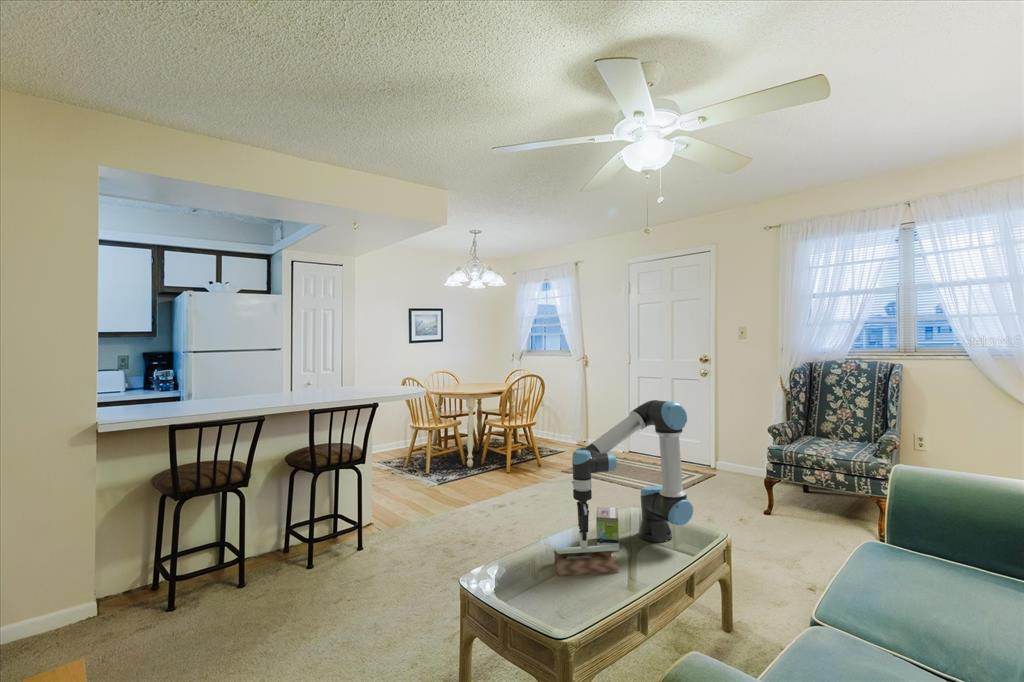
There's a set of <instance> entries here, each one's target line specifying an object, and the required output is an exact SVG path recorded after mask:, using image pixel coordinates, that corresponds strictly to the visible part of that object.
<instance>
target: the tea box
mask: <svg viewBox="0 0 1024 682" xmlns="http://www.w3.org/2000/svg"><path fill="white" fill-rule="evenodd" d="M596 508H597V509H596V518H595V520H596V521H595V522H596V524H595V526H596V546H600V545H611V546H613V547H615V548H616V549H617V550H615V551H614V552H619V551H620V527H619V526H620V524H619V523H620V522H619V520H620V519H619V508H618V507H607V506H606V507H603V506H602V507H601V506H599V507H596Z"/></svg>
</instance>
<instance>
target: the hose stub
mask: <svg viewBox="0 0 1024 682" xmlns="http://www.w3.org/2000/svg"><path fill="white" fill-rule="evenodd" d="M577 558H592V557H591V556H590V555H584V556H569V557H567V559H577Z"/></svg>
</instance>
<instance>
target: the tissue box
mask: <svg viewBox="0 0 1024 682" xmlns="http://www.w3.org/2000/svg"><path fill="white" fill-rule="evenodd" d="M553 552H554V554H553V555H554V565H555V568H556V572H557V575H558V576H559V577H565V576H566V577H567V576H569V577H570V576H582V575H583V576H584V575H585V576H586V575H597V574H598V575H599V574H613V573H614V574H615V573H619V559H618V557H617V556H616V555H613V556H612V551H598V552H581V553H565V554H558V553H557V552H556V551H555V550H553ZM584 555H590V556H591V557H592V558H577V559H567V557H569V556H584Z"/></svg>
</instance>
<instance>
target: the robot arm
mask: <svg viewBox="0 0 1024 682" xmlns="http://www.w3.org/2000/svg"><path fill="white" fill-rule="evenodd" d="M687 423H688V415H687V411H686V409H685V407H684V406H682V404H679V403H677V402H673V401H668V400H667V401H666V400H658V399H656V400H655V399H653V400H647V401H646V402H644V403H642V404H640V405H639V406H637V407H636V408H634V409H632V410H631V411H630V412H629V415H628V416H627V417H626V418H624V419H623V420H621V421H620V422H619V423H617V424H616V425H614V426H613V427H611V428H610V429H609V430H608V431H606V432H605V433H604V434H602V435H601V436H599V437H598V438H596V439H595V440H593V442H591V443H589V444H588V445H587V446H581V447H578V448H576V449H575V450H574V451H573V452H572V458H571V459H572V460H571V463H572V465H571V466H572V481H571V484H572V488H573V490H572V494H573V496H572V497H573V500H576V501H577V502H576V505H577V522H578V525H577V526H578V529H579V530H578V533H579V547H581V548H588V546H589V545H588V533H589V515H590V510H589V503H588V502H587V501H590V500H592V499H593V498H592V497H593V496H592V488H593V487H592V474H599V473H609V472H612V471H613V472H614V471H615V470H617V466H618V462H617V461H618V459H617V458H616V455H615V454H614V453H612V452H610V451H611V450H613V449H614V448H616V447H617V446H618V445H620V444H621V443H622V442H624V441H625V440H626V439H628V438H630V437H631V436H632V435H634V433H636V432H637V431H639V430H644V429H645V428H647V427H649V426H654V429H655V431H654V432H655V433H656V434H657V435H658V436H659V437H658V438H659V440H658V441H659V452H660V454H659V455H660V456H659V457H660V468H661V469H660V470H661V471H660V472H661V485H649V486H644V487H642V488H641V490H640V505H641V521H640V525H639V528H638V537H639V538H640V539H642V540H645V541H646V542H652V543H663V541H665V542H667V541H666V540H669V539H671V537H672V538H673V532H672V528H671V527H670V524H671V525H675V526H678V527H679V526H680V527H682V526H684V525H686V524H688V523H689V522H690V520H692V517H693V514H694V506H693V504H692V503H691V502H690V500H688V498H687V497H688V496H687V491H686V490H684V488H683V475H682V461H681V460H682V459H681V458H682V457H681V443H680V435H681V434H682V433H683V429H684V428H685V427H686V424H687ZM671 540H672V539H671ZM669 541H670V540H669Z"/></svg>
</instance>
